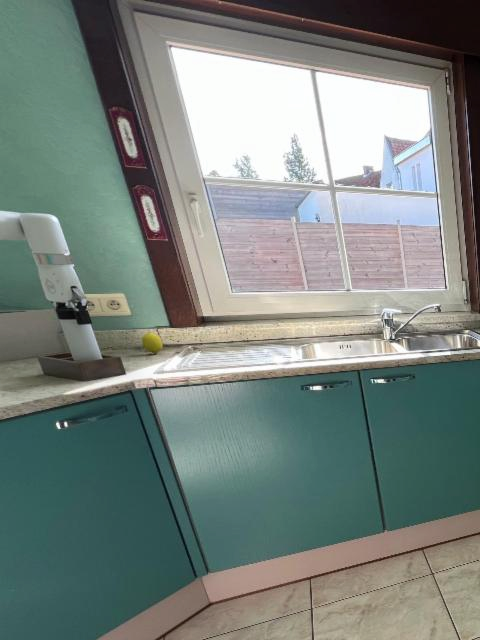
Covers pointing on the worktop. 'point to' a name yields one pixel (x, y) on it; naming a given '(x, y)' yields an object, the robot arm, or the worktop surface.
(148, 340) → the lemon
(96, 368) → the brown divided storage box
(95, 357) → the travel mug
